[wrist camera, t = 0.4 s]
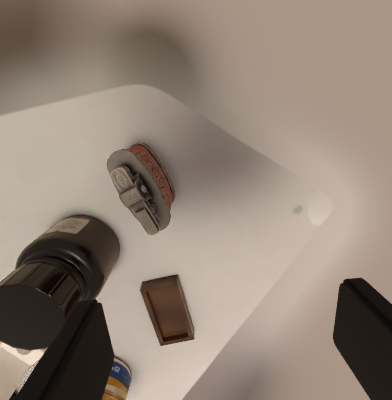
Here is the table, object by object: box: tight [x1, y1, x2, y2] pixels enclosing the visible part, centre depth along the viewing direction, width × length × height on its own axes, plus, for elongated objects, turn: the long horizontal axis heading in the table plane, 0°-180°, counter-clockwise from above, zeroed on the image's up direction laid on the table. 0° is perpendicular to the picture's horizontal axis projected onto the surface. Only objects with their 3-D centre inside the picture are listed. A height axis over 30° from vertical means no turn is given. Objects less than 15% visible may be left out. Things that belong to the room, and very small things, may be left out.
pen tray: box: [140, 275, 194, 346], centre depth 33 cm, size 10×5×2 cm, turn 13°
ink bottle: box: [0, 216, 119, 351], centre depth 25 cm, size 10×9×12 cm
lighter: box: [107, 143, 175, 235], centre depth 23 cm, size 8×3×10 cm, turn 27°
